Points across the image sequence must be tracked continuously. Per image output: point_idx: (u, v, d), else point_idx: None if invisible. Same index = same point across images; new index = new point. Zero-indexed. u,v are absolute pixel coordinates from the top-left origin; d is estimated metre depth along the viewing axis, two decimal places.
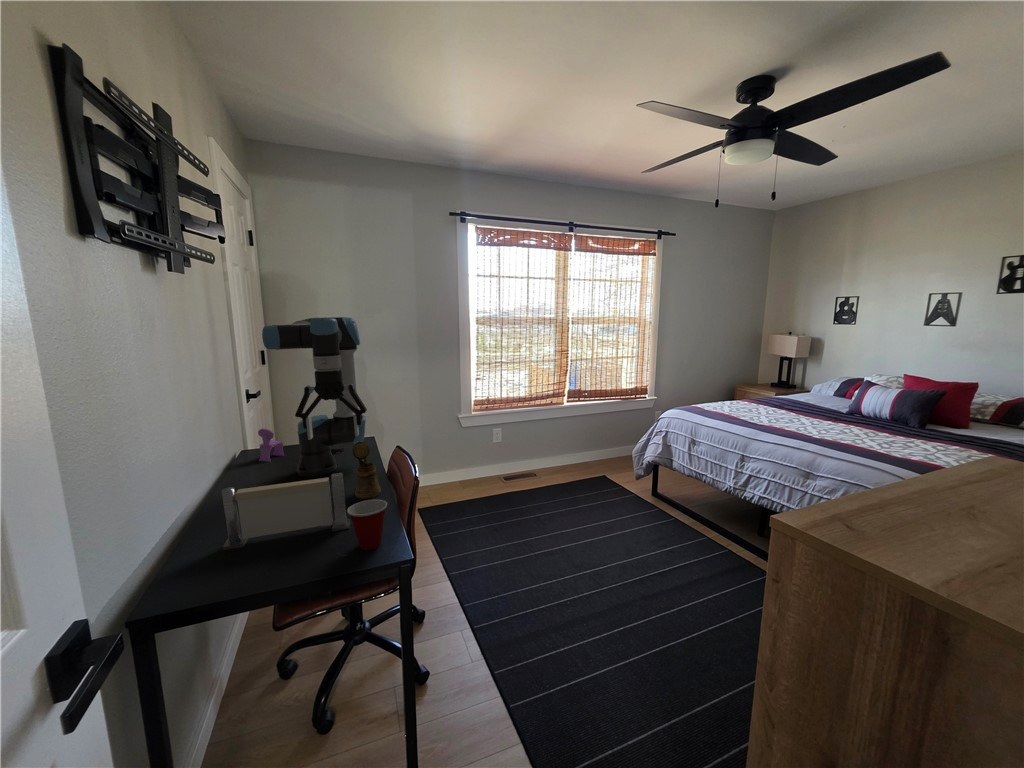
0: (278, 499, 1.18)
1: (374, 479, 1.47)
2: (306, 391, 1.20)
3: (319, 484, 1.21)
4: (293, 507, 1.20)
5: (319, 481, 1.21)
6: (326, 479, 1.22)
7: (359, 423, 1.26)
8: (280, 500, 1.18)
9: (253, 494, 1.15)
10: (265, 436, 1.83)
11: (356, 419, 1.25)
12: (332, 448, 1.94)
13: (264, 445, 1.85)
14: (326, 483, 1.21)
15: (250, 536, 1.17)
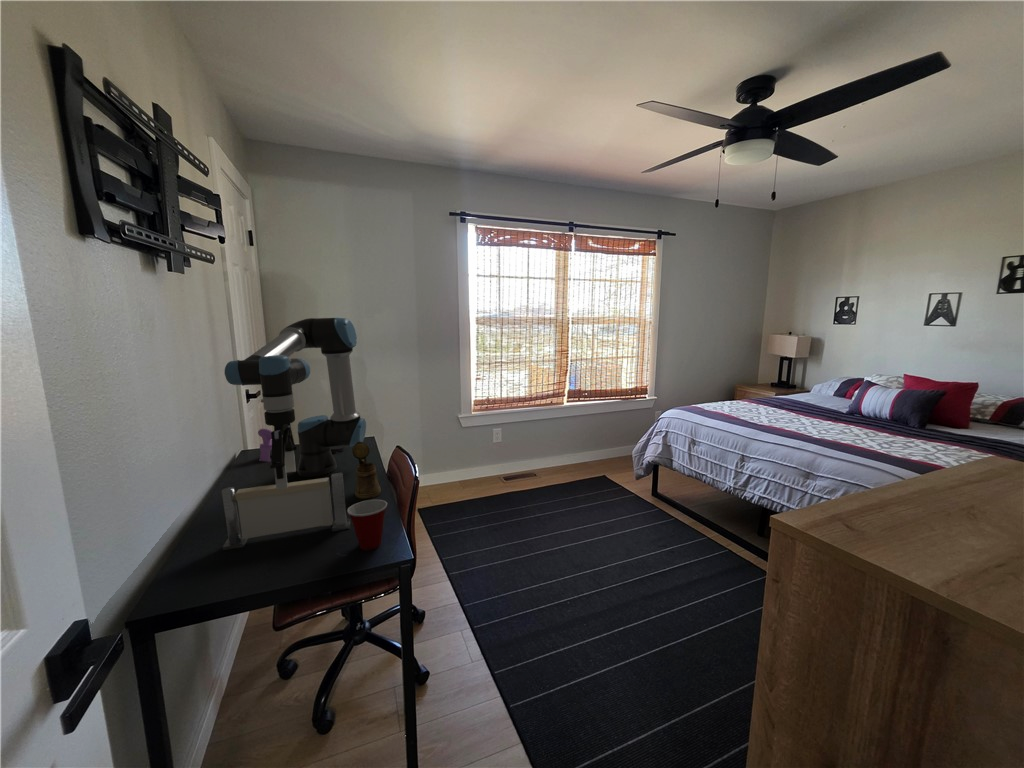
0: (278, 499, 1.18)
1: (374, 479, 1.47)
2: None
3: (319, 484, 1.21)
4: (293, 507, 1.20)
5: (319, 481, 1.21)
6: (326, 479, 1.22)
7: None
8: (280, 500, 1.18)
9: (253, 494, 1.15)
10: (265, 436, 1.83)
11: (275, 471, 1.11)
12: (332, 448, 1.94)
13: (264, 445, 1.85)
14: (326, 483, 1.21)
15: (250, 536, 1.17)
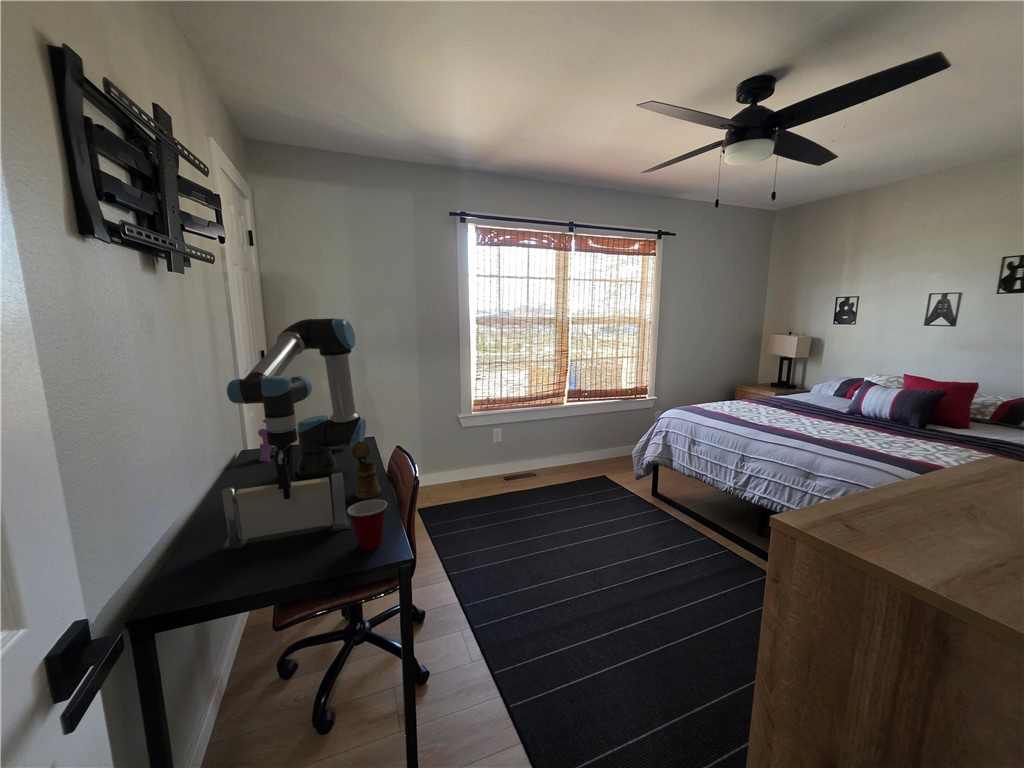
0: (278, 499, 1.18)
1: (374, 479, 1.47)
2: None
3: (319, 484, 1.21)
4: None
5: (319, 481, 1.21)
6: (326, 479, 1.22)
7: None
8: (280, 500, 1.18)
9: (253, 494, 1.15)
10: (265, 436, 1.83)
11: (282, 491, 1.17)
12: (332, 448, 1.94)
13: (264, 445, 1.85)
14: (326, 483, 1.21)
15: (250, 536, 1.17)
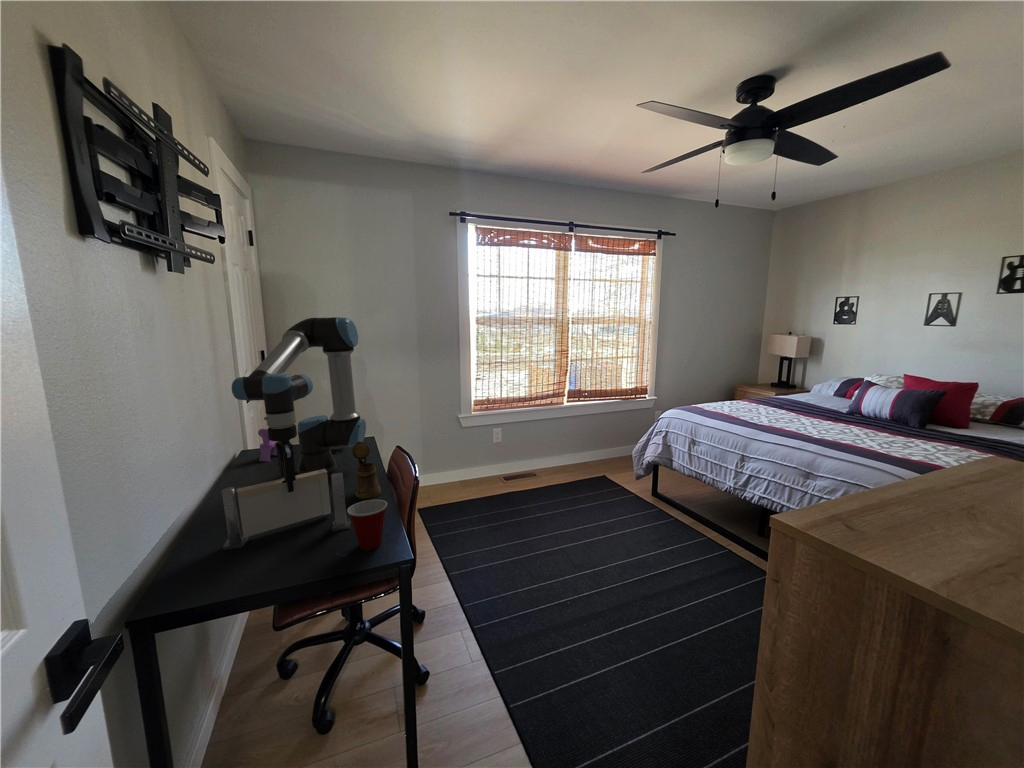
0: (279, 494, 1.22)
1: (374, 479, 1.47)
2: None
3: (319, 475, 1.27)
4: None
5: (318, 472, 1.28)
6: (324, 470, 1.30)
7: (288, 490, 1.21)
8: (281, 494, 1.22)
9: (256, 490, 1.17)
10: (265, 436, 1.83)
11: (286, 485, 1.21)
12: (332, 448, 1.94)
13: (264, 445, 1.85)
14: (325, 473, 1.29)
15: (251, 534, 1.18)
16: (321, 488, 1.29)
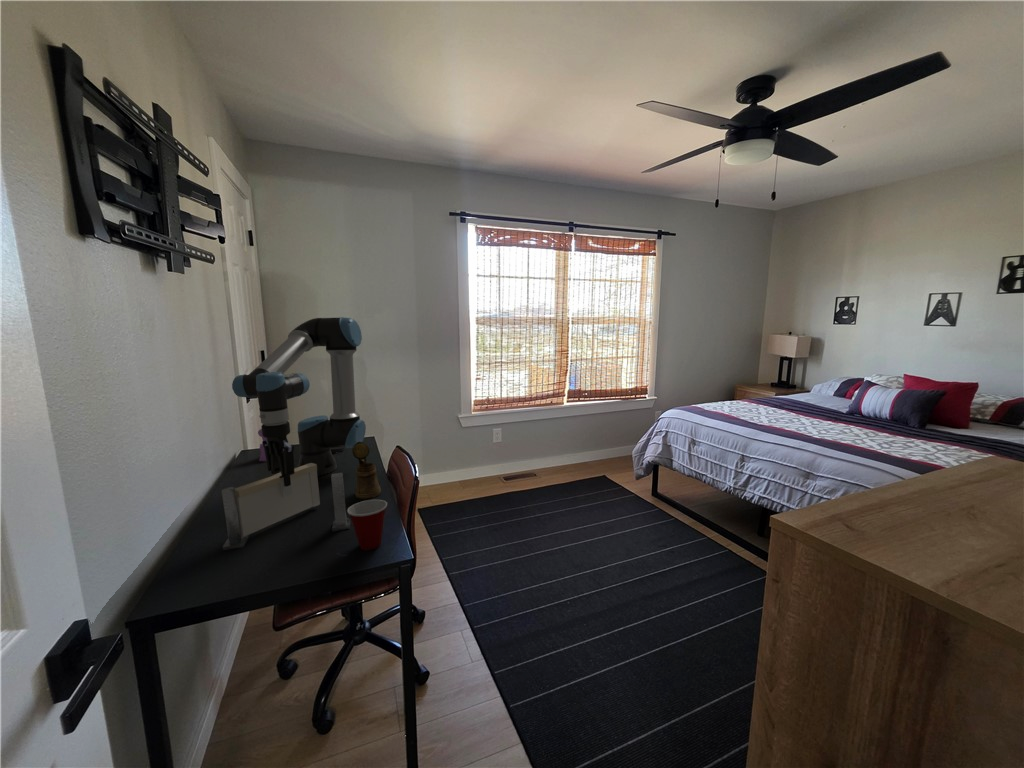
0: (274, 490, 1.25)
1: (374, 479, 1.47)
2: (264, 445, 1.27)
3: (310, 468, 1.33)
4: None
5: (308, 466, 1.33)
6: (312, 464, 1.35)
7: (285, 485, 1.25)
8: (276, 490, 1.25)
9: (255, 488, 1.19)
10: None
11: (282, 480, 1.25)
12: (332, 448, 1.94)
13: None
14: (315, 466, 1.35)
15: (250, 532, 1.19)
16: (311, 481, 1.34)
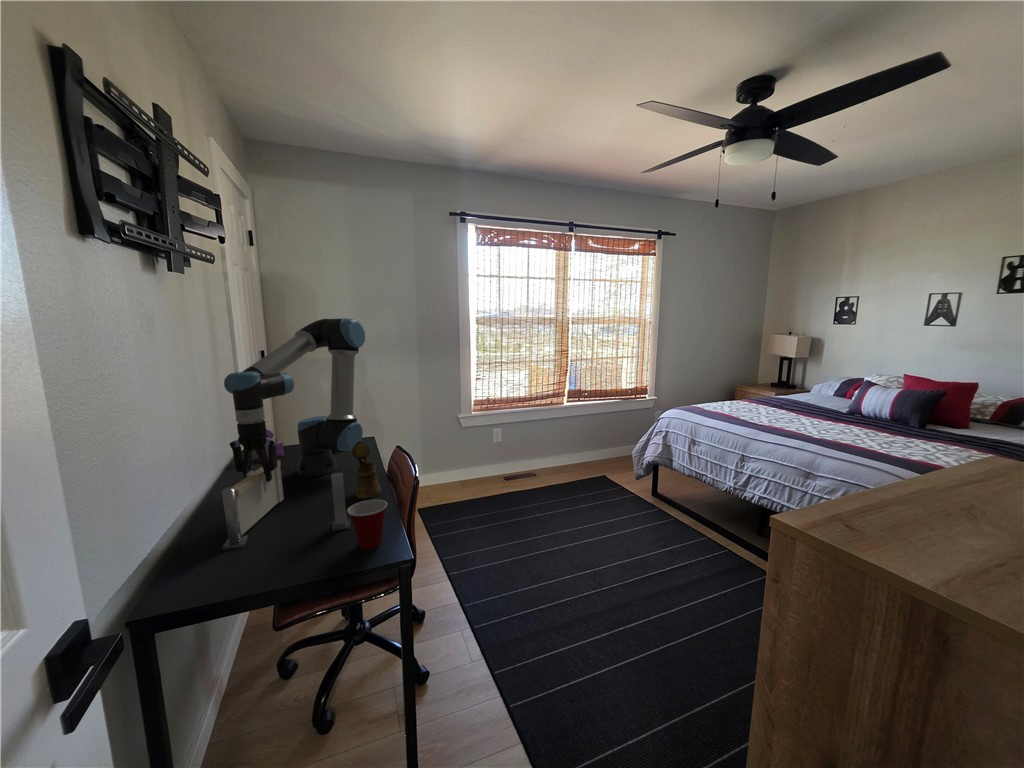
0: (256, 487, 1.27)
1: (374, 479, 1.47)
2: (232, 446, 1.26)
3: None
4: None
5: None
6: None
7: (268, 480, 1.29)
8: (257, 487, 1.27)
9: (247, 485, 1.21)
10: None
11: (265, 476, 1.28)
12: None
13: None
14: (279, 462, 1.39)
15: (245, 530, 1.20)
16: (277, 476, 1.38)
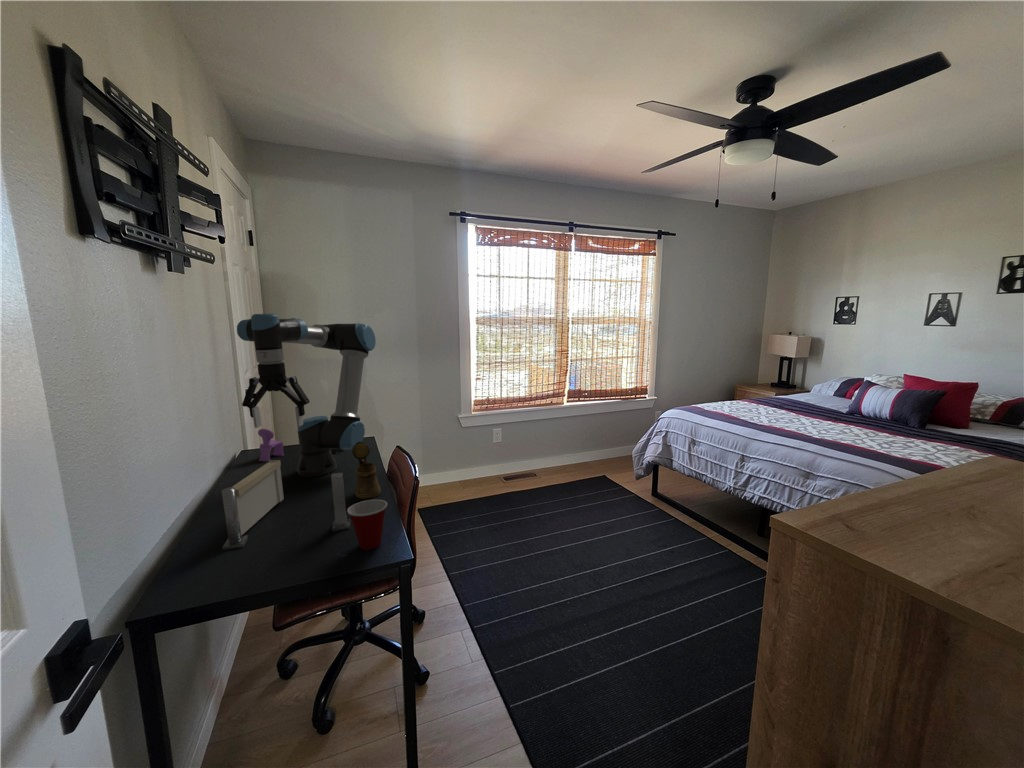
0: (256, 487, 1.27)
1: (374, 479, 1.47)
2: (251, 382, 1.28)
3: (276, 464, 1.37)
4: (264, 491, 1.31)
5: (274, 462, 1.37)
6: (275, 460, 1.39)
7: (301, 414, 1.32)
8: (257, 487, 1.27)
9: (247, 485, 1.21)
10: (265, 436, 1.83)
11: (298, 410, 1.31)
12: None
13: (264, 445, 1.85)
14: (279, 462, 1.39)
15: (245, 530, 1.20)
16: (277, 476, 1.38)
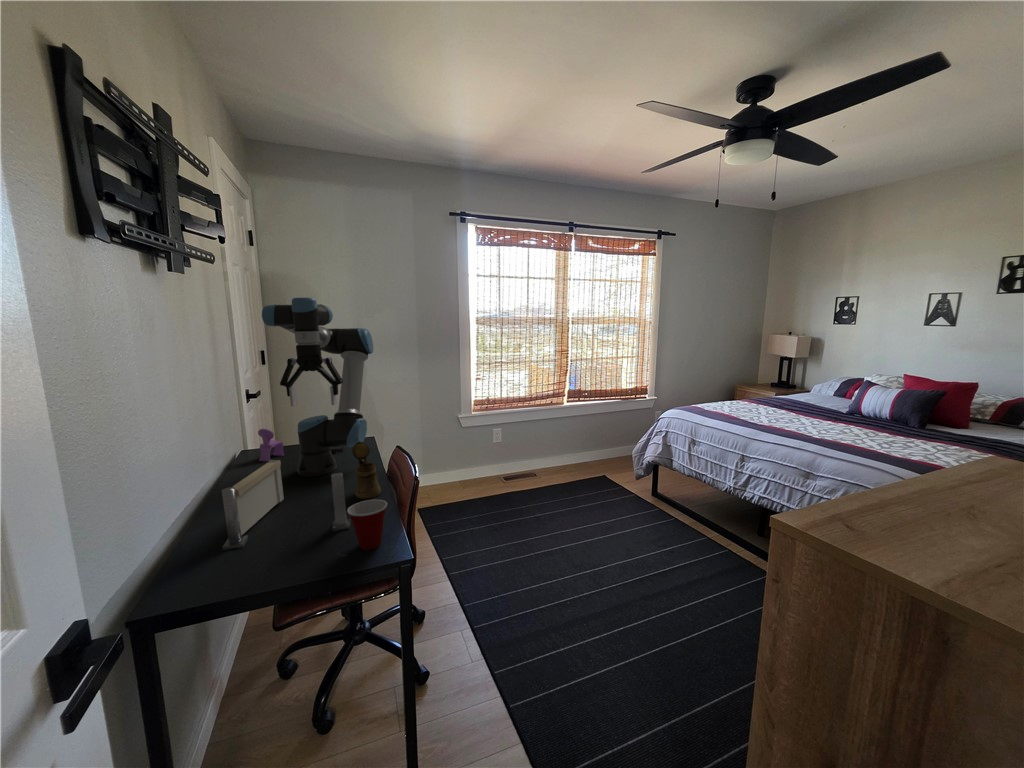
0: (256, 487, 1.27)
1: (374, 479, 1.47)
2: (289, 362, 1.36)
3: (276, 464, 1.37)
4: (264, 491, 1.31)
5: (274, 462, 1.37)
6: (275, 460, 1.39)
7: (335, 393, 1.39)
8: (257, 487, 1.27)
9: (247, 485, 1.21)
10: (265, 436, 1.83)
11: (332, 389, 1.39)
12: (332, 448, 1.94)
13: (264, 445, 1.85)
14: (279, 462, 1.39)
15: (245, 530, 1.20)
16: (277, 476, 1.38)
